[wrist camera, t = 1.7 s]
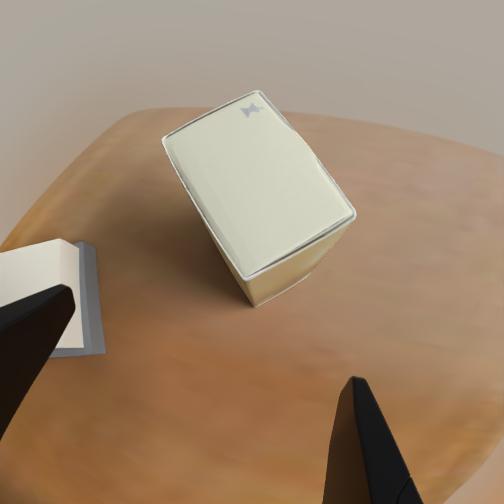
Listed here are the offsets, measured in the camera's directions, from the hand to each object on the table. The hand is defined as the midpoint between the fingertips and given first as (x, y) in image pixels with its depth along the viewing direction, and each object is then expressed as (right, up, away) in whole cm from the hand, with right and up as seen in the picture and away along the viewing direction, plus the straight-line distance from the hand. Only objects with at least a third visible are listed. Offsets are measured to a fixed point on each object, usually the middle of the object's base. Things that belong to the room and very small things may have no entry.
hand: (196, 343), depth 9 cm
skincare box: (+2, +2, +13) cm, 14 cm away
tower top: (-14, -1, +11) cm, 18 cm away
